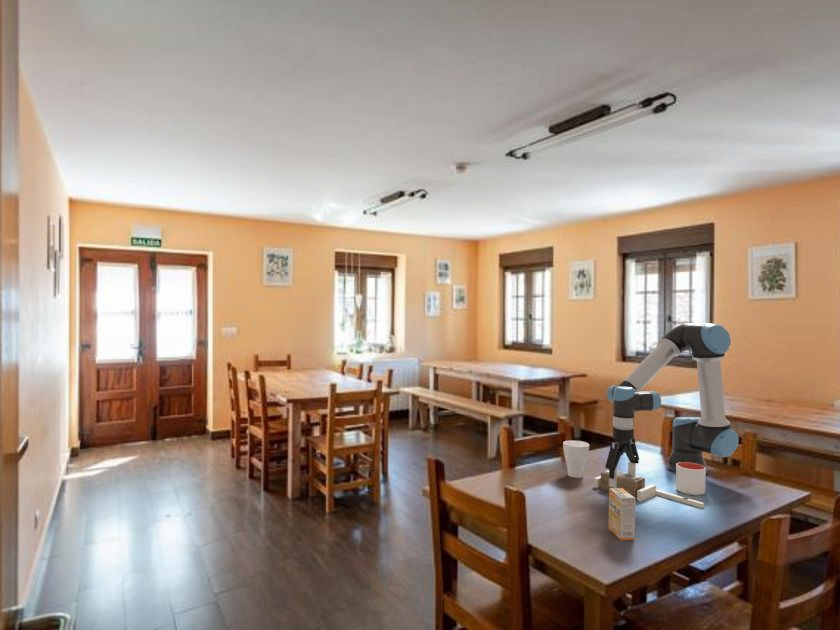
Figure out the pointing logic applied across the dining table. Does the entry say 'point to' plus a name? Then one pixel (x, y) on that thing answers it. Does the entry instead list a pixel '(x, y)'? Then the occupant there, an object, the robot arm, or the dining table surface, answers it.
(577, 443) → the cup
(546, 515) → the dining table surface
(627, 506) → the supplement box
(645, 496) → the notch rail
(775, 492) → the dining table surface
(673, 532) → the dining table surface
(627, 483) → the wooden block
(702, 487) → the cup
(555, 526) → the dining table surface
